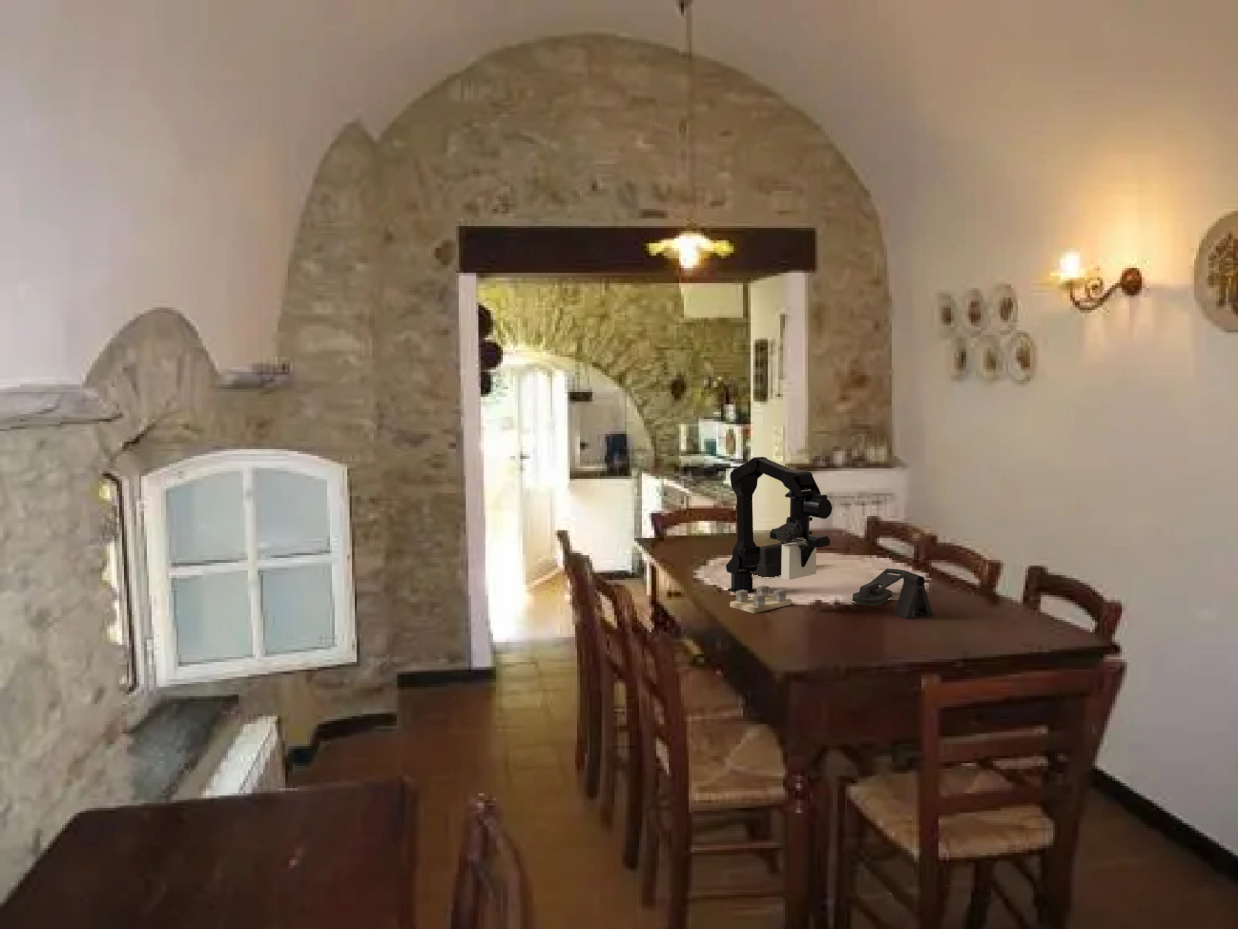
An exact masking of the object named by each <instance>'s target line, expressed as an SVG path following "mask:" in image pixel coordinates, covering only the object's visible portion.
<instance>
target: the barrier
mask: <svg viewBox="0 0 1238 929" xmlns="http://www.w3.org/2000/svg"><path fill="white" fill-rule="evenodd" d="M782 545H783V544H782V543H781V542H779V543H774V544H768V545H762V546H760V557H761V559H760V560H759V564H758V566H757V570H756V571H752V574H753V575H752V576H754V575H758V576H761V577H760V578H763V577H773V578H776V577H775V576H777V577H780V576H779V575H781V562H782ZM758 576H757V577H758Z"/></svg>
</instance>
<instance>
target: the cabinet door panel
mask: <svg viewBox="0 0 1238 929" xmlns="http://www.w3.org/2000/svg"><path fill="white" fill-rule="evenodd" d="M798 545H803V541H798V542H793V543H788V544H783V545H782V562H781V576H780V578H781V579H782V580H788V581H790V580H794V579H800V578H804V577H808V576H812V575H816V574H817V548H815V549H814V550H813V552H812V553H811V555H810V557H809V559H808V561H807V563H806V565H805V567H802V566H801V549H800V548H799V546H798Z"/></svg>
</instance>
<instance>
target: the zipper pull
mask: <svg viewBox="0 0 1238 929" xmlns="http://www.w3.org/2000/svg"><path fill="white" fill-rule="evenodd" d="M906 572H907V573H909V572H910V571H908V570H904V569H898V568H889V567H888V568H885V569H884V570H883V571H882V572H881V573H879V574H878V575H877V576H876V577H875V578H873V579H872V580H870V582H868V583H865V584H863V585H861V586H860V587H859V591H856V592H853V593H852V601H854V602H856V603H855V604H857V603H858V604H857V605H861V606H862V605H863V606H870V607H871V606H872V607H873V606H880V605H883V604H884V603H885V602H884V601H886V602H887V601H889V600H890V599H889V598H891V597H892V598H893V591H892V590H890V589H887V588H888V587H890V586H891V585H893V584H895V583H897V582H898V581H900V580H902V579H903V576H904V574H905V573H906ZM892 598H891V599H892ZM888 599H889V600H888ZM852 601H851V602H852ZM883 602H884V603H883Z"/></svg>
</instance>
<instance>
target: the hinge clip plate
mask: <svg viewBox="0 0 1238 929" xmlns="http://www.w3.org/2000/svg"><path fill="white" fill-rule="evenodd" d="M769 590H770V589H769V586H768V585H765V584H764V585H759V586H756V594H754V595H752V596H751V597H749V592H748V591H746V590H740V591H736V592H735V600H734V601H733V600H732V601H730V602H729V607H730V608H732V609H733V608H734V609H737V610H740V611H745V612H748V613H752V614H758V613H762V612H765V611H770V610H773V609H774V610H775V609H777V608H782V607H787V606H791V605H792V599H791V598H787V591H786V590H785V589H776V590H774V591H773V594H771V593H769Z"/></svg>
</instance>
